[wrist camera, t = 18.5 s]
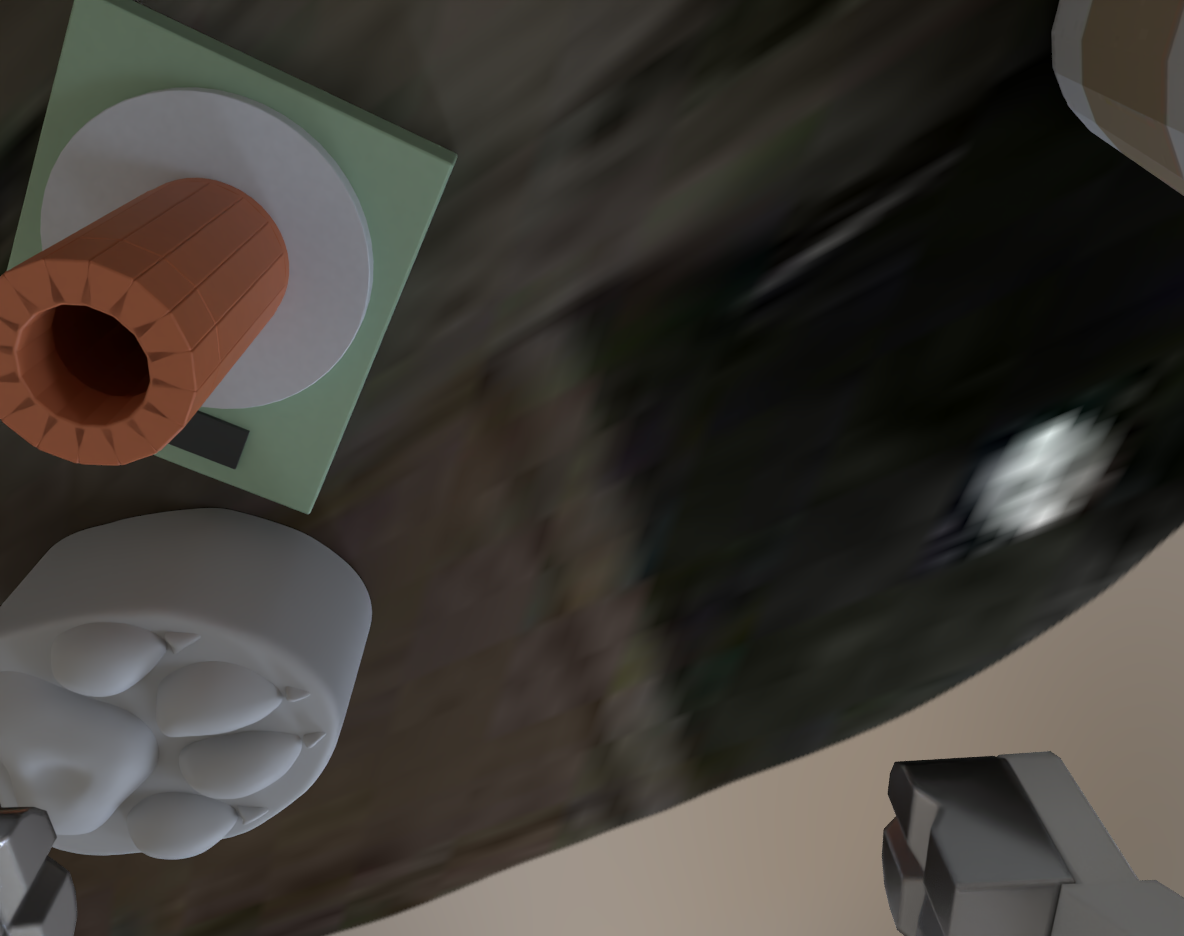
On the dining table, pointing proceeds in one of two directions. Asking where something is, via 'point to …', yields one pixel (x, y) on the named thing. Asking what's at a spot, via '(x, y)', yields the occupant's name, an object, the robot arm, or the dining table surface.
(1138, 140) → the coffee cup
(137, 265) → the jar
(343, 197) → the scale
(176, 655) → the lumpy-topped squat cylinder
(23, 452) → the dining table surface
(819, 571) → the dining table surface
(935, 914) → the robot arm
